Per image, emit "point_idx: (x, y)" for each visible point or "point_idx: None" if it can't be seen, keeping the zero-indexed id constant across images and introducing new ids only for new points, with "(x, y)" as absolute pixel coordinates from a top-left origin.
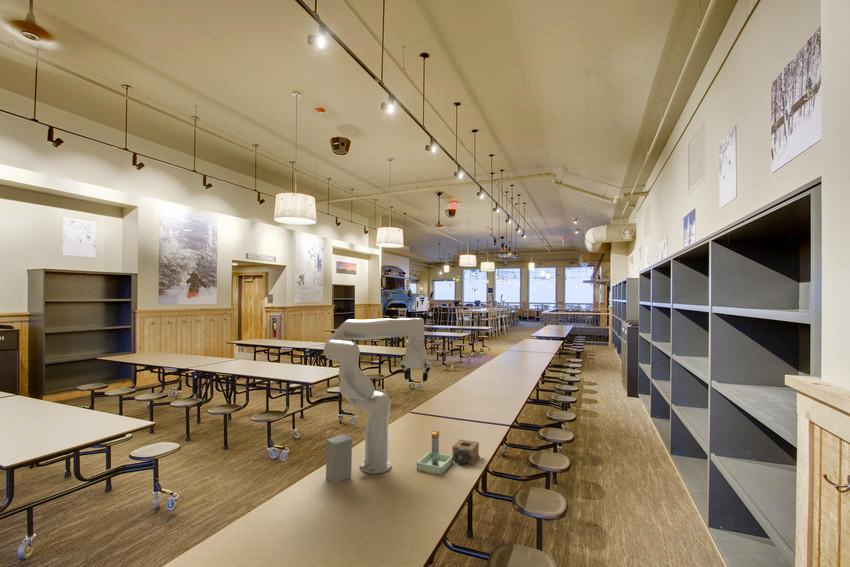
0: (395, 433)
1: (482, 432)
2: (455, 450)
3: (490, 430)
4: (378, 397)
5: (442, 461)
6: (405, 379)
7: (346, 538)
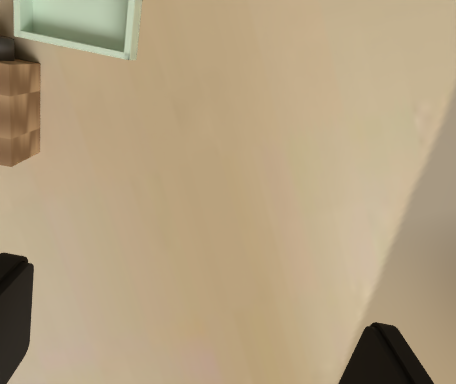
0: (333, 270)
1: None
2: (2, 61)
3: None
4: None
5: (67, 25)
6: (380, 324)
7: None
